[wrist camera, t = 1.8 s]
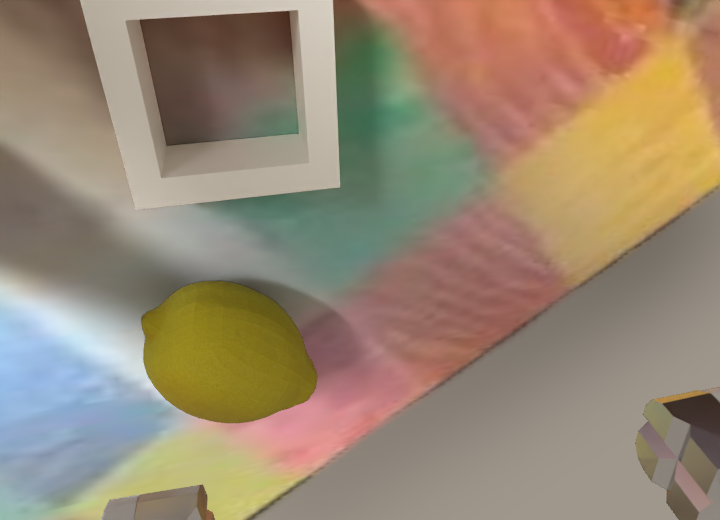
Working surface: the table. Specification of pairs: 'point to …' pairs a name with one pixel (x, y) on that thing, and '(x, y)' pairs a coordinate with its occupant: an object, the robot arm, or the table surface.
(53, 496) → the table surface
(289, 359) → the lemon
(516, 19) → the table surface
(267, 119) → the table surface
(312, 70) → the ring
